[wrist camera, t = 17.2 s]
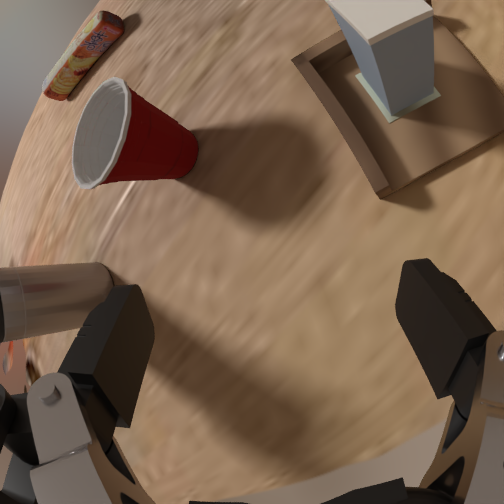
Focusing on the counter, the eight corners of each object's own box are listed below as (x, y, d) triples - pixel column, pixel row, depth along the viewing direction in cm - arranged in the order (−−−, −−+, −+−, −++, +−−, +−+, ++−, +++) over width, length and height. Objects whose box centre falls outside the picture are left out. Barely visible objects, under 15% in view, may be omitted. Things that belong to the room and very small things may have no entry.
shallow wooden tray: (380, 199, 24) (375, 192, 21) (305, 76, 26) (290, 59, 23) (516, 124, 17) (527, 109, 14) (425, 13, 20) (422, -9, 17)
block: (391, 116, 22) (367, 39, 12) (362, 76, 23) (322, -5, 13) (434, 93, 20) (433, 8, 10) (403, 55, 21) (382, -33, 11)
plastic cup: (150, 123, 37) (73, 98, 26) (217, 101, 31) (136, 57, 21) (145, 204, 37) (60, 196, 27) (215, 196, 32) (121, 179, 21)
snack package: (125, 17, 42) (98, 3, 37) (127, 33, 41) (98, 20, 36) (65, 85, 52) (41, 78, 46) (65, 105, 51) (39, 98, 45)
